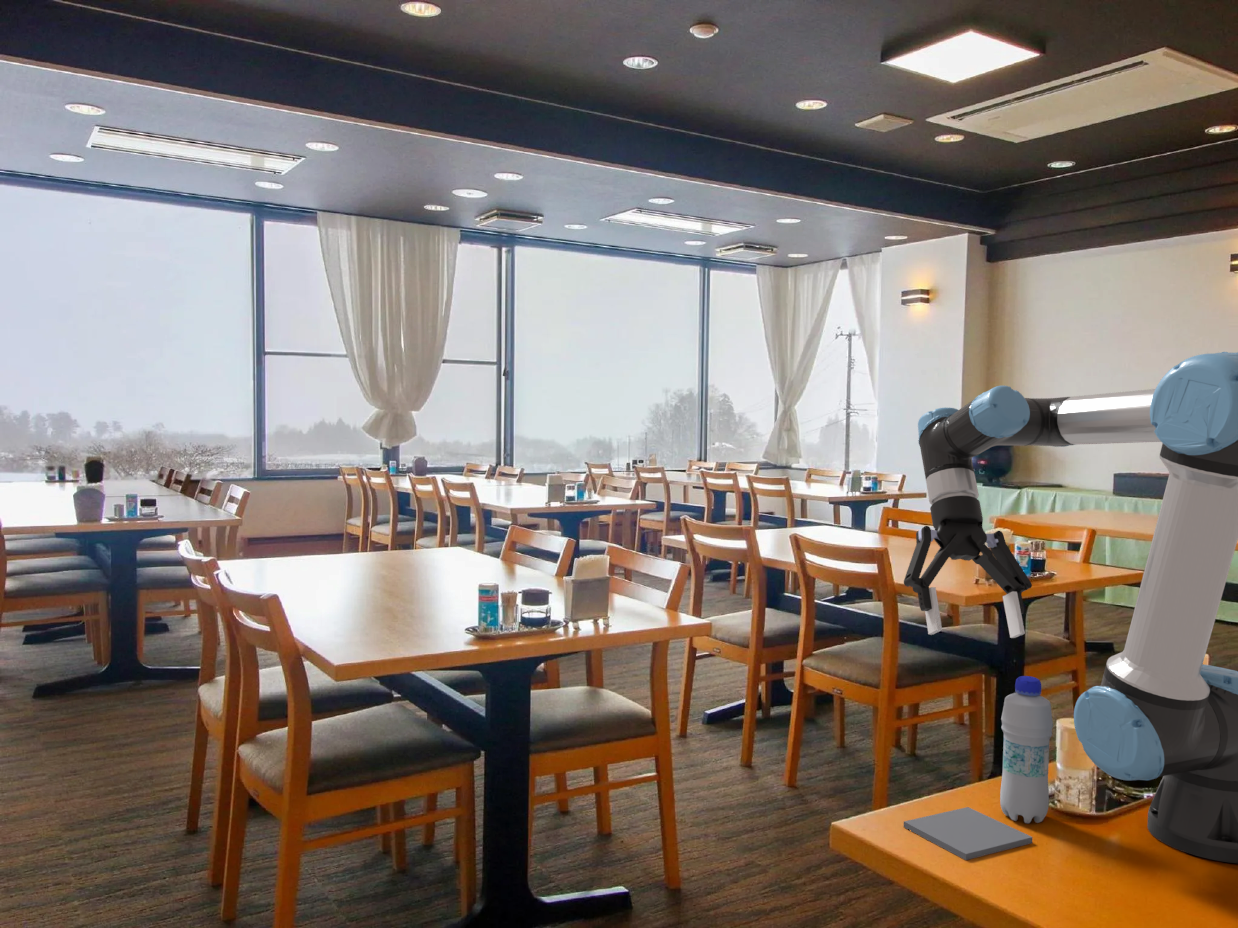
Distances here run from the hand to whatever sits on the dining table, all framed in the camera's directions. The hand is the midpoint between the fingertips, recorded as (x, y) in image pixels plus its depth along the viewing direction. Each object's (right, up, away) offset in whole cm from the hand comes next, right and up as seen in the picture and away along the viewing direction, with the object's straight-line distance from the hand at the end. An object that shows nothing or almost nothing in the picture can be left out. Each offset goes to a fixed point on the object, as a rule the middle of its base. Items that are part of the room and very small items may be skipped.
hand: (976, 634), depth 145 cm
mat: (-7, -24, -15) cm, 29 cm away
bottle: (+3, -24, -9) cm, 26 cm away
